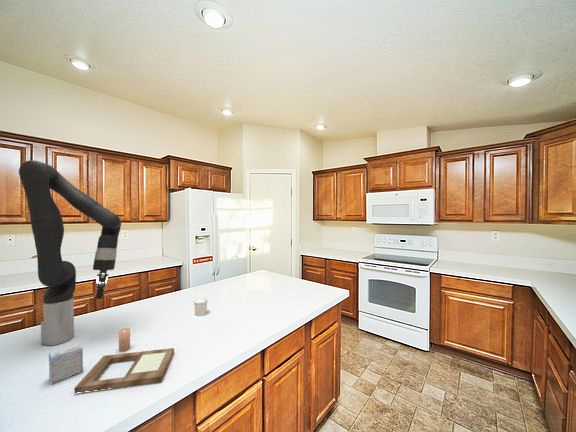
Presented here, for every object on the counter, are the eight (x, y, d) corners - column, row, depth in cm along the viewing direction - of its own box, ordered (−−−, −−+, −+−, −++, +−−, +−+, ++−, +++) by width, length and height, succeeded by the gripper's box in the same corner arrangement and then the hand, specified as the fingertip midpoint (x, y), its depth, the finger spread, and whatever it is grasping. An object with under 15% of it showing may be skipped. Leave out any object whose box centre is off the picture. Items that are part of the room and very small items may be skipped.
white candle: (193, 317, 123) (193, 303, 123) (194, 311, 129) (194, 298, 129) (206, 315, 125) (206, 302, 125) (207, 310, 131) (207, 297, 131)
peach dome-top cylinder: (116, 352, 92) (116, 333, 92) (121, 346, 96) (121, 328, 96) (127, 351, 93) (127, 332, 93) (131, 345, 97) (131, 327, 96)
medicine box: (80, 366, 84) (80, 342, 83) (83, 372, 81) (83, 347, 80) (48, 379, 77) (48, 353, 77) (50, 385, 75) (50, 358, 74)
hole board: (74, 394, 71) (74, 386, 71) (103, 361, 87) (103, 354, 87) (161, 382, 76) (161, 375, 76) (174, 353, 92) (174, 347, 92)
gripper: (94, 258, 107) (88, 295, 104) (93, 258, 96) (86, 300, 93) (115, 258, 111) (109, 294, 108) (116, 259, 100) (110, 298, 97)
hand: (99, 297), depth 101 cm, fingers open, 8 cm apart
